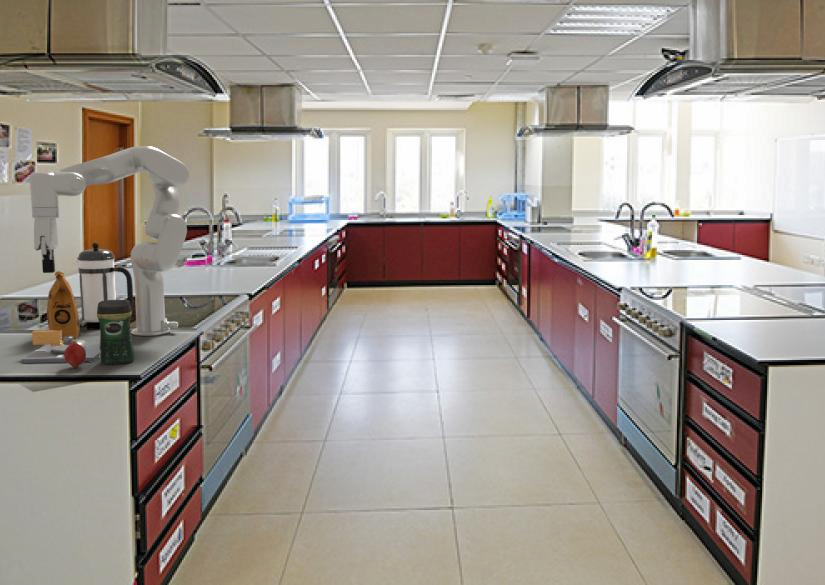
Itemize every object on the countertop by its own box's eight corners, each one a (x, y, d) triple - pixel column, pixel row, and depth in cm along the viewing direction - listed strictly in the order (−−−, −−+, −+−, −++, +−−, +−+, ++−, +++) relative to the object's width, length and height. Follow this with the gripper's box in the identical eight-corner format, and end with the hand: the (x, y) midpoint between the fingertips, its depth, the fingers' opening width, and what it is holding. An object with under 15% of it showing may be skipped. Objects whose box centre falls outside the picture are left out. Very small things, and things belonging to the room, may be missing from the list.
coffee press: (87, 329, 281) (82, 245, 277) (72, 323, 293) (67, 242, 289) (135, 323, 293) (131, 242, 288) (118, 317, 304) (114, 239, 300)
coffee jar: (135, 358, 239) (132, 297, 236) (132, 364, 232) (129, 301, 229) (101, 359, 237) (98, 298, 234) (97, 365, 229) (94, 302, 227)
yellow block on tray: (90, 345, 248) (89, 327, 248) (80, 353, 239) (79, 333, 238) (40, 346, 247) (39, 327, 246) (28, 354, 237) (27, 334, 236)
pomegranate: (61, 367, 227) (59, 340, 226) (81, 364, 231) (80, 337, 230) (69, 371, 223) (67, 343, 222) (90, 367, 227) (88, 340, 226)
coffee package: (47, 341, 262) (43, 275, 259) (48, 334, 273) (44, 270, 270) (79, 339, 266) (76, 274, 262) (80, 332, 277) (76, 269, 274)
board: (111, 346, 254) (110, 342, 254) (93, 361, 234) (93, 356, 234) (46, 348, 252) (45, 343, 252) (22, 363, 232) (22, 358, 232)
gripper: (38, 211, 249) (42, 269, 252) (25, 214, 235) (29, 275, 237) (64, 211, 251) (67, 269, 253) (52, 214, 236) (56, 275, 239)
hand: (48, 272), depth 245 cm, fingers closed
